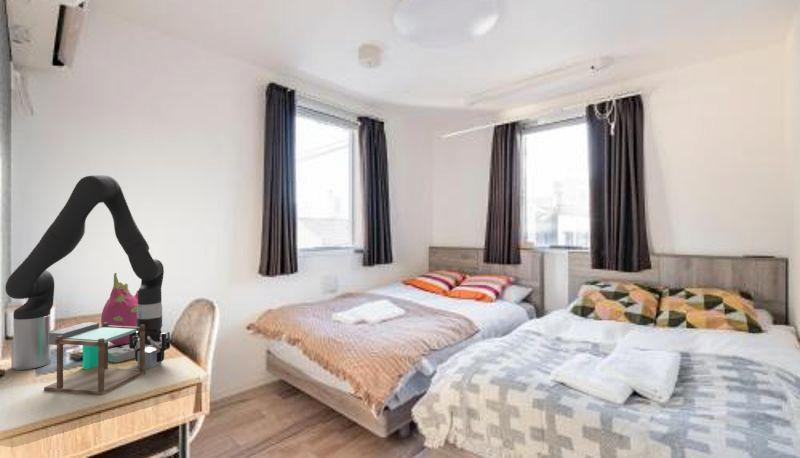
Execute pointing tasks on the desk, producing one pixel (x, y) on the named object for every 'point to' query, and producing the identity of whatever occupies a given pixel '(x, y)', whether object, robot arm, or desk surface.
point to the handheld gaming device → (122, 353)
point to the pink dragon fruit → (120, 309)
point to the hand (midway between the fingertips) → (149, 361)
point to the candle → (90, 356)
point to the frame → (96, 377)
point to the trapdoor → (90, 333)
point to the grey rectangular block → (148, 357)
